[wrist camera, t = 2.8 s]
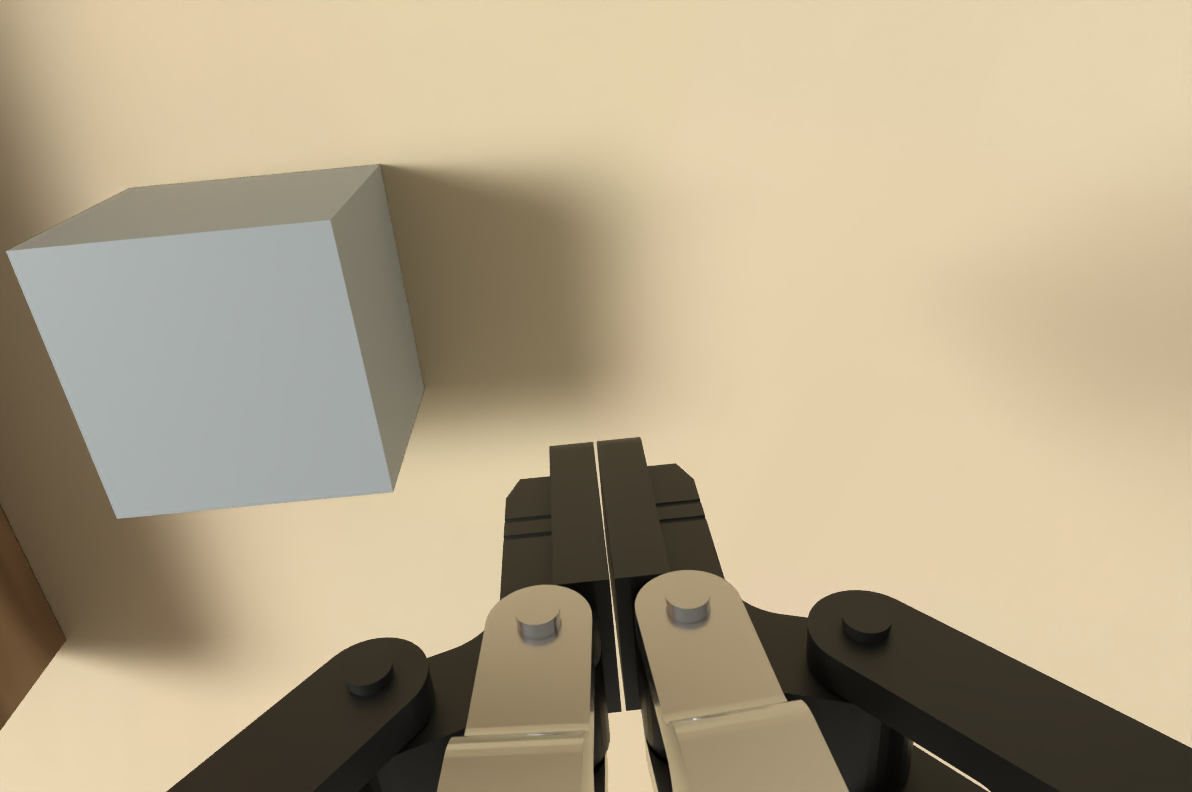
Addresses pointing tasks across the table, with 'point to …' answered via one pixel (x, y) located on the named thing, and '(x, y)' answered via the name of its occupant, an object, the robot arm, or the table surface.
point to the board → (22, 625)
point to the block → (231, 339)
